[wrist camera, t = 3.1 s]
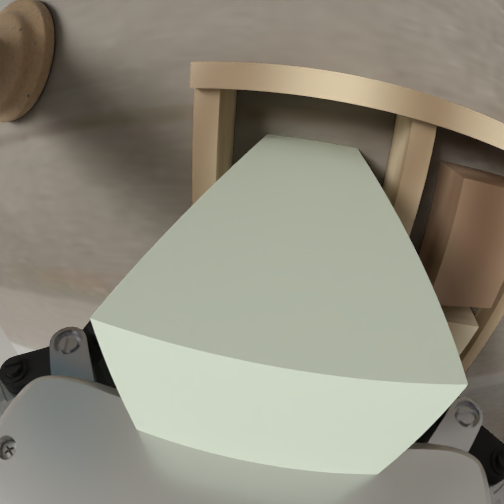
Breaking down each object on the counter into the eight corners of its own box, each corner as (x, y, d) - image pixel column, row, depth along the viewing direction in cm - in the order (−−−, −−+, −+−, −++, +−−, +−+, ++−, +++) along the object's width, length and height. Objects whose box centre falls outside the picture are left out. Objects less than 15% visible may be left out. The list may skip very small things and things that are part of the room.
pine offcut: (462, 292, 15) (479, 326, 12) (427, 351, 18) (436, 385, 15) (406, 281, 15) (418, 317, 13) (375, 344, 18) (379, 380, 15)
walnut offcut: (501, 175, 11) (532, 196, 9) (471, 275, 14) (490, 308, 12) (438, 159, 12) (463, 178, 9) (412, 269, 15) (426, 304, 12)
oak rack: (549, 151, 9) (582, 168, 7) (445, 377, 18) (452, 409, 16) (216, 66, 12) (190, 61, 9) (210, 345, 21) (196, 378, 18)
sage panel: (357, 148, 13) (467, 385, 2) (314, 332, 18) (287, 532, 8) (267, 134, 13) (89, 317, 3) (249, 321, 19) (186, 512, 9)
